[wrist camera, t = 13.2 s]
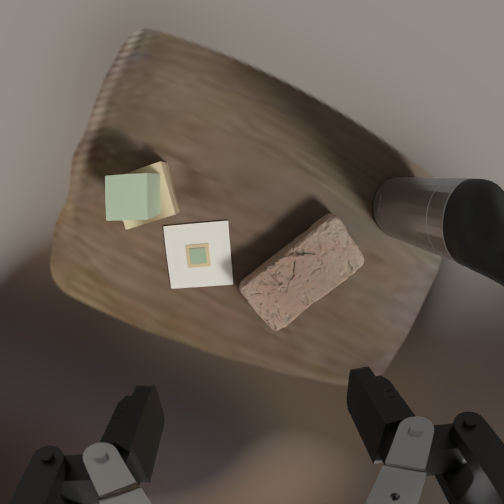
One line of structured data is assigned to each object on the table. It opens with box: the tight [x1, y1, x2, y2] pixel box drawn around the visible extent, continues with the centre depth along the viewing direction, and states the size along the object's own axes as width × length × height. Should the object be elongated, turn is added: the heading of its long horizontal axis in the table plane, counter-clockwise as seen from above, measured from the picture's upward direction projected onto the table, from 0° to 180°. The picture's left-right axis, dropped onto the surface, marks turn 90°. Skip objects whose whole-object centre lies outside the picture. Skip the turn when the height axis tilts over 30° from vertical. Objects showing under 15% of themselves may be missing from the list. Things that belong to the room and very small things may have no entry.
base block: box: [123, 161, 180, 230], centre depth 39 cm, size 7×7×4 cm
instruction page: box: [163, 221, 233, 289], centre depth 43 cm, size 9×9×1 cm
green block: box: [105, 173, 161, 221], centre depth 34 cm, size 5×5×6 cm
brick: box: [239, 213, 364, 331], centre depth 42 cm, size 17×8×5 cm, turn 128°
